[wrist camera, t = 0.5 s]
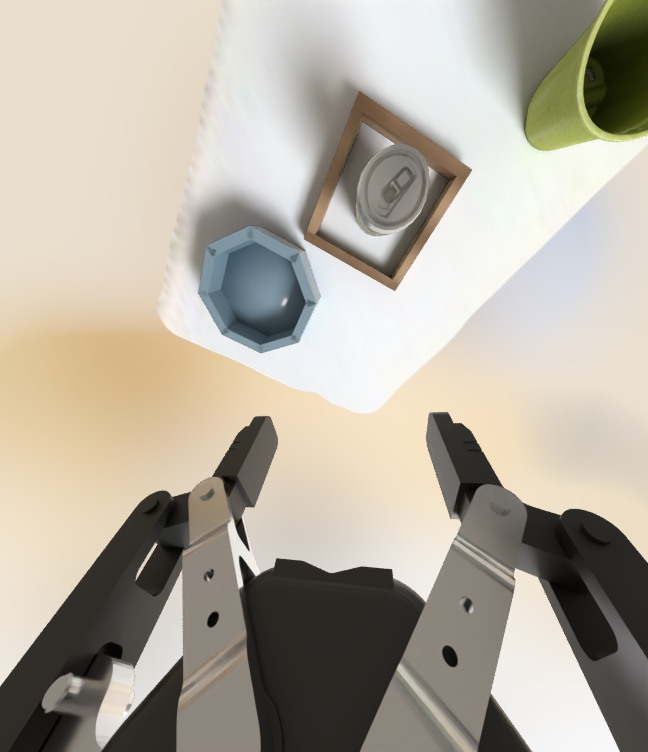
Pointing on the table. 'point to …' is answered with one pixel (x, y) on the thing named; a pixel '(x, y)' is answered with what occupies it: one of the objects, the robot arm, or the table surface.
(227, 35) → the table surface
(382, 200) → the beer can
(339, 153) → the walnut frame
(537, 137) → the plant pot
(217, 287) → the slate bowl
